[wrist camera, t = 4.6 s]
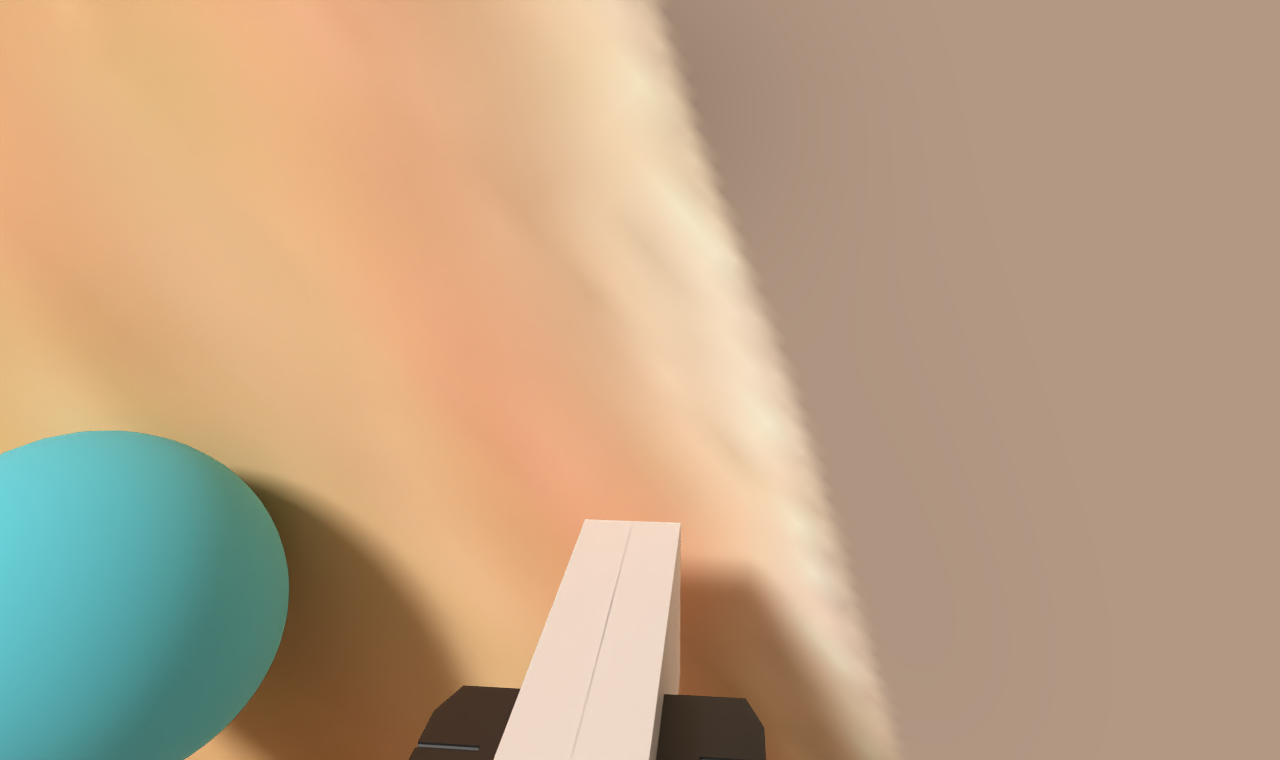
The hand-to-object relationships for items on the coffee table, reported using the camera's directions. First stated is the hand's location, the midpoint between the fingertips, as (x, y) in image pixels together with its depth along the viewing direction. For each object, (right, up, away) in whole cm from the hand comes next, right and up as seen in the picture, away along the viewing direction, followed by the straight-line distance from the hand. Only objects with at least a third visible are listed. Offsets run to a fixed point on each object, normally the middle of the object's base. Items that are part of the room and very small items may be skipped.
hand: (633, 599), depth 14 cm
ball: (-8, 0, 0) cm, 8 cm away
